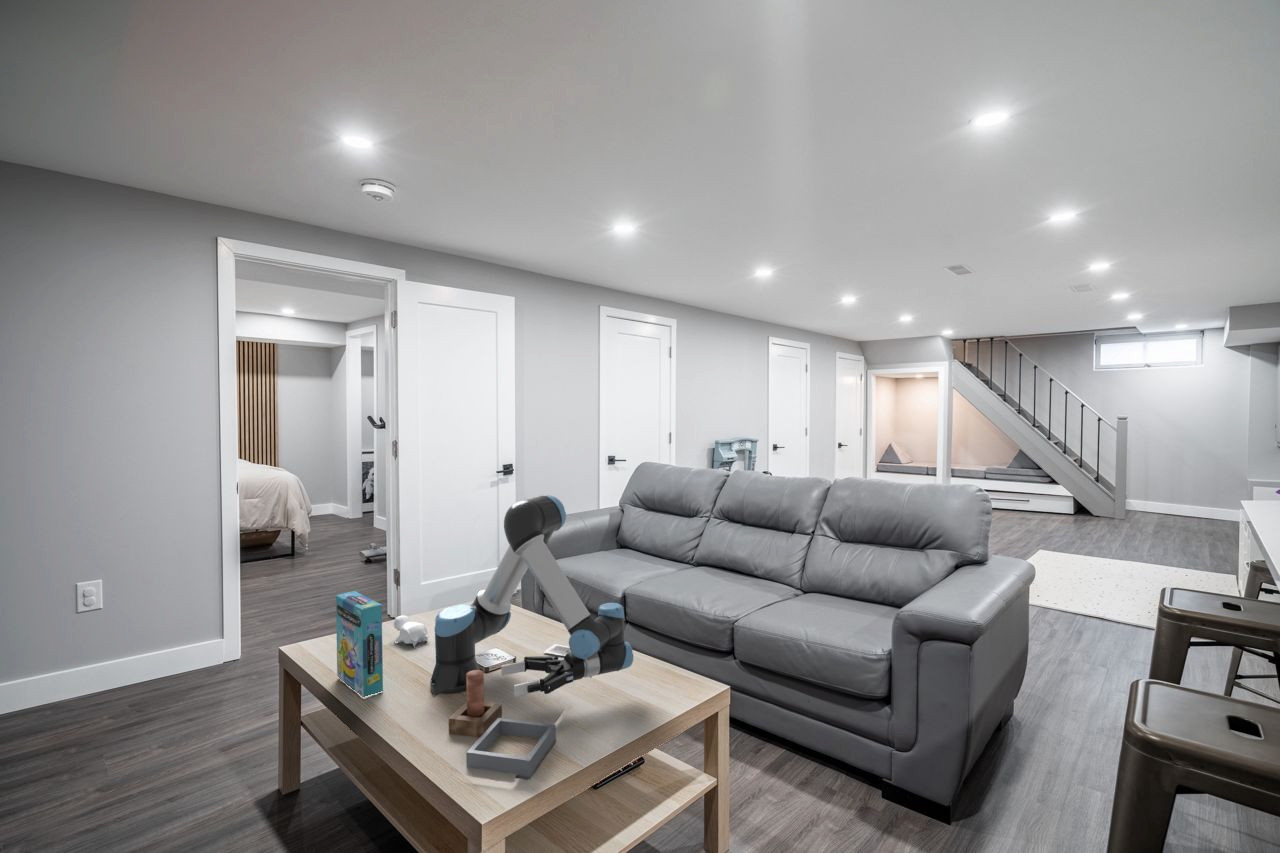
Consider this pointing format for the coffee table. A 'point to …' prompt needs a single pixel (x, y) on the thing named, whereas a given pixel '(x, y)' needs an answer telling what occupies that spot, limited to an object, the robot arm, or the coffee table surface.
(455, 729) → the socket block
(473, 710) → the dowel
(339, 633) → the game box
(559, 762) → the coffee table surface
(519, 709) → the coffee table surface
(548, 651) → the touchpad
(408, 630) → the white animal figurine
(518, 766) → the tray
